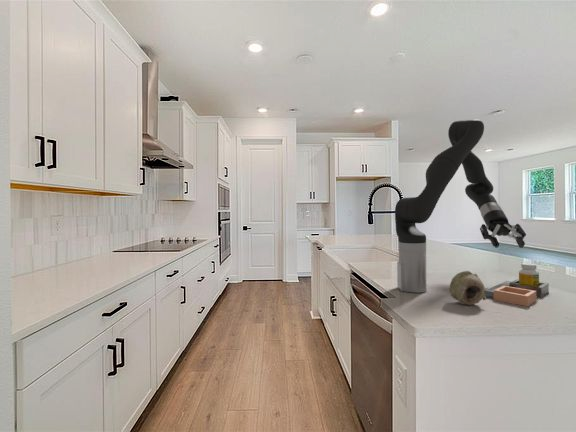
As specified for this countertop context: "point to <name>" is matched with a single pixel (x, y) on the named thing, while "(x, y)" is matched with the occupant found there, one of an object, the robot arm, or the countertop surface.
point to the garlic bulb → (467, 288)
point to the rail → (539, 290)
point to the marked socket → (515, 295)
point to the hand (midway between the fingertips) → (510, 246)
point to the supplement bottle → (529, 275)
